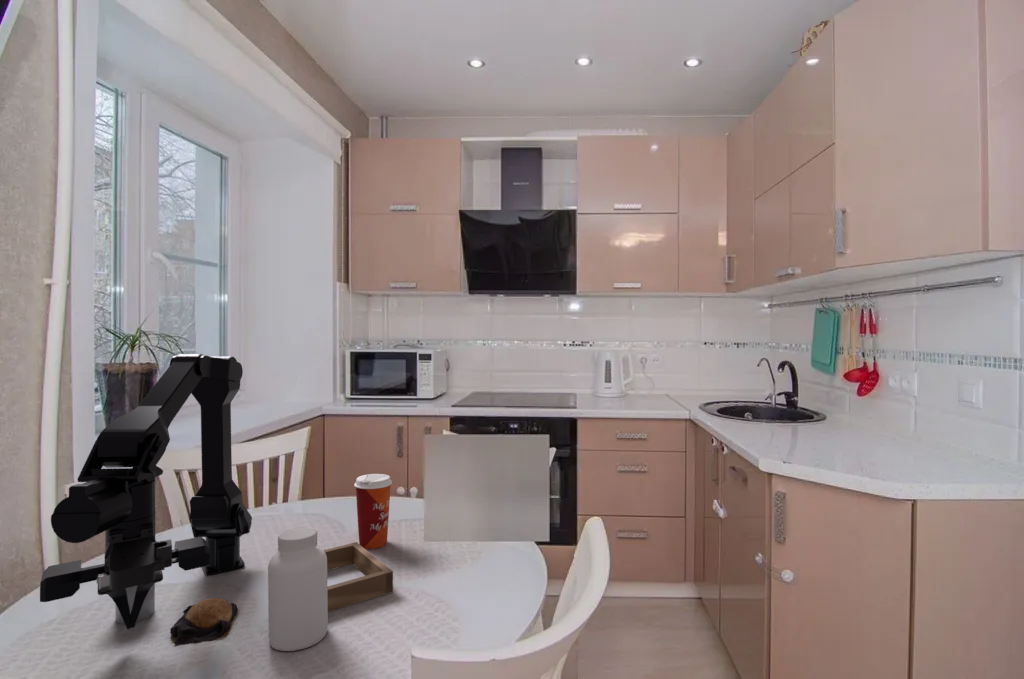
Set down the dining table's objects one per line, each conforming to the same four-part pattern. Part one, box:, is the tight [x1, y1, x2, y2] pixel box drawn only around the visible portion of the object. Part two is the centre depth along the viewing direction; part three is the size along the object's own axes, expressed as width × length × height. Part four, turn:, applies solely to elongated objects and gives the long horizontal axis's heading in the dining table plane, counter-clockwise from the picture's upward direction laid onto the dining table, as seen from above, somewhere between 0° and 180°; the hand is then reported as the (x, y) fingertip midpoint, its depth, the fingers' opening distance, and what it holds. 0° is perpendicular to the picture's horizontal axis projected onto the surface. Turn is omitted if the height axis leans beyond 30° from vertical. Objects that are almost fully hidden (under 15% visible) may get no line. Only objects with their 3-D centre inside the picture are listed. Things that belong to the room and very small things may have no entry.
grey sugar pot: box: [114, 583, 156, 625], centre depth 83 cm, size 5×5×7 cm
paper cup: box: [354, 473, 393, 550], centre depth 112 cm, size 8×8×14 cm
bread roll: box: [169, 597, 239, 647], centre depth 80 cm, size 11×8×4 cm
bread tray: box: [323, 542, 394, 613], centre depth 92 cm, size 16×15×4 cm
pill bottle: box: [267, 527, 329, 652], centre depth 77 cm, size 8×8×15 cm
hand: (130, 627), depth 74 cm, fingers closed
